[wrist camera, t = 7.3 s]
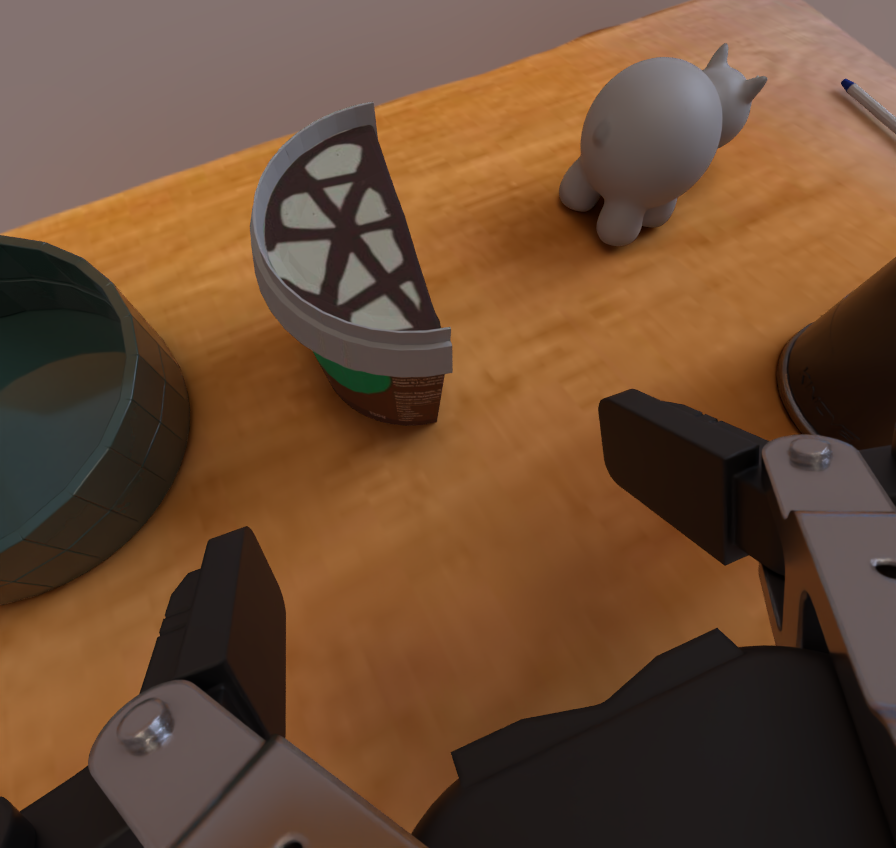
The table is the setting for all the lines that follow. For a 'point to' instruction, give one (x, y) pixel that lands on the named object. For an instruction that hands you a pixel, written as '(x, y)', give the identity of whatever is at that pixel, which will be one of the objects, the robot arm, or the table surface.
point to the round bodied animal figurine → (654, 140)
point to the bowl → (77, 418)
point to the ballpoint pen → (870, 104)
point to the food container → (349, 269)
